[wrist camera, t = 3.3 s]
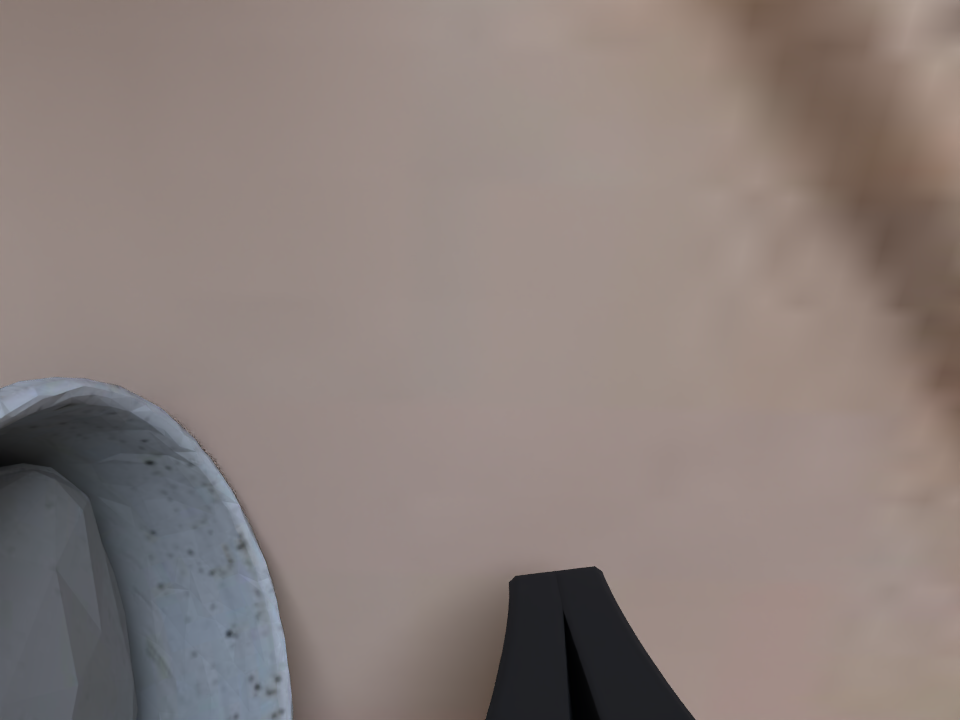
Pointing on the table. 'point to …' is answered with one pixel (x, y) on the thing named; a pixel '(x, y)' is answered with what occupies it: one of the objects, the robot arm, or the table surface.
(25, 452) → the ceramic mug
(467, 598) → the table surface
